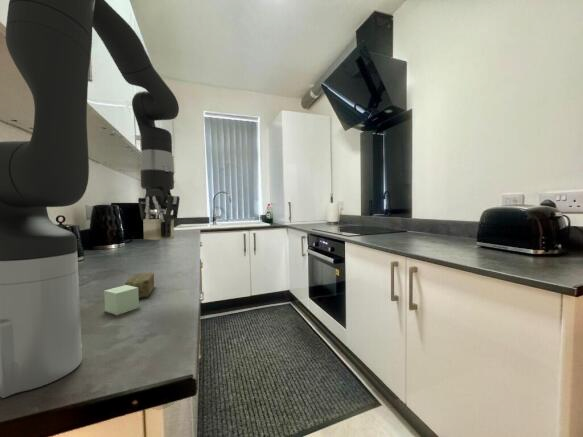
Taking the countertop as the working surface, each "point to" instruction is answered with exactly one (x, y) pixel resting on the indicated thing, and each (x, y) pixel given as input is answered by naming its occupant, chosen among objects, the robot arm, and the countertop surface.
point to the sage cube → (121, 299)
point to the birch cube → (155, 229)
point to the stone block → (142, 283)
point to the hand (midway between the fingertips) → (159, 236)
